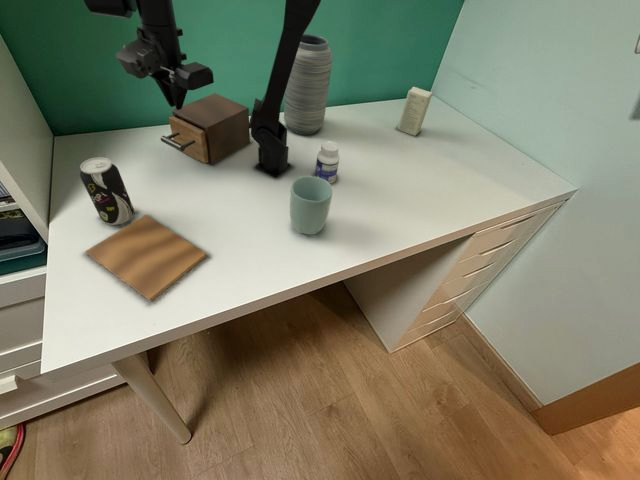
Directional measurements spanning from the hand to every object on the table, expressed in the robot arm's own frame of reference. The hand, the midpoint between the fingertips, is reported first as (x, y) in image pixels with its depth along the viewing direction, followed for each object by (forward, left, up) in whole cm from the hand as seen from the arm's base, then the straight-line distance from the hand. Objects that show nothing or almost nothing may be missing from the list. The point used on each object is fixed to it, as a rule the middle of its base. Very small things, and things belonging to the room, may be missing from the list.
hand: (175, 107), depth 69 cm
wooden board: (-17, +24, -13) cm, 32 cm away
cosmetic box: (-36, -56, -13) cm, 68 cm away
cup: (-35, 0, -13) cm, 37 cm away
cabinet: (0, -10, -13) cm, 16 cm away
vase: (-11, -34, -13) cm, 38 cm away
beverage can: (-5, +21, -13) cm, 26 cm away
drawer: (0, -5, -12) cm, 13 cm away
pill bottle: (-29, -17, -13) cm, 36 cm away
